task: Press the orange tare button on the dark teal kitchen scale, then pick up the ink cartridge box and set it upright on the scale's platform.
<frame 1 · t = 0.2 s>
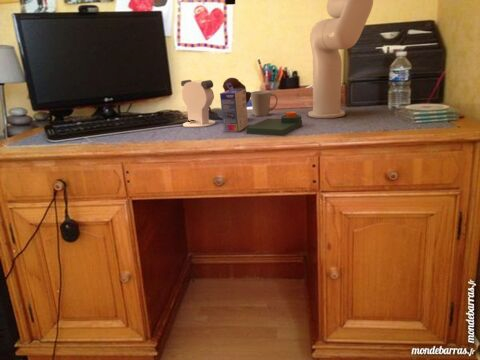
hand: (237, 2, 112), 37 cm above the table, tool pointing down, fingers open, 9 cm apart
ink cartridge box: (235, 129, 125), on the table
scale: (275, 129, 120), on the table
beige round-topped stand: (200, 124, 137), on the table
cup: (264, 115, 146), on the table
tare button: (291, 114, 121), point 4 cm above the table, slide at 0.1 cm
ice cream bowl: (237, 120, 139), on the table
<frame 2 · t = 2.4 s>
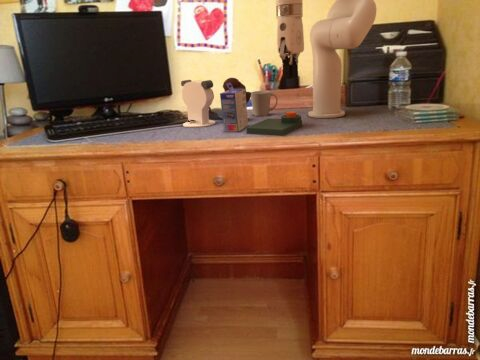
hand: (290, 77, 117), 15 cm above the table, tool pointing down, fingers closed
nothing on the table moved.
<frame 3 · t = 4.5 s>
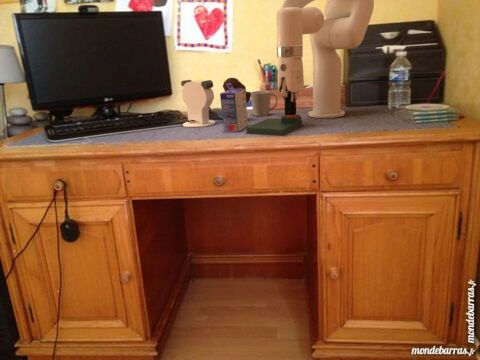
hand: (290, 114, 121), 4 cm above the table, tool pointing down, fingers closed
tare button: (291, 116, 121), point 3 cm above the table, slide at -0.5 cm, touching gripper
everything else where it was.
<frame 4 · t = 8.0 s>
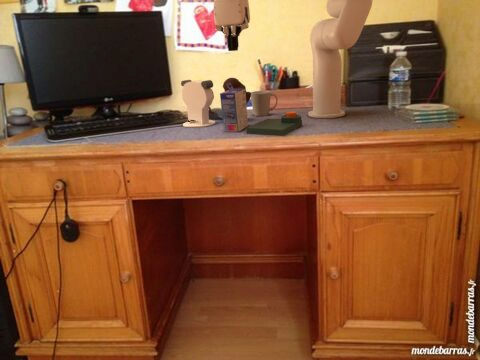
hand: (233, 50, 117), 24 cm above the table, tool pointing down, fingers closed
tare button: (291, 114, 121), point 4 cm above the table, slide at 0.1 cm
everything else where it was.
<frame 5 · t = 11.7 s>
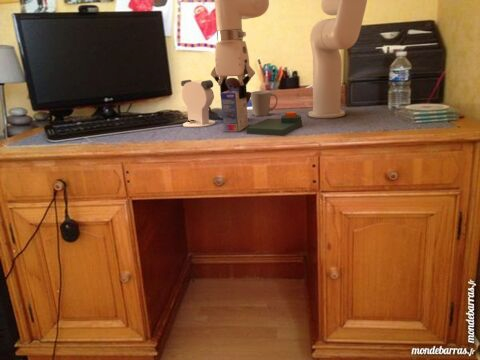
hand: (233, 97, 122), 10 cm above the table, tool pointing down, fingers closed on ink cartridge box, 5 cm apart
ink cartridge box: (235, 129, 125), on the table, touching gripper
everything else where it was.
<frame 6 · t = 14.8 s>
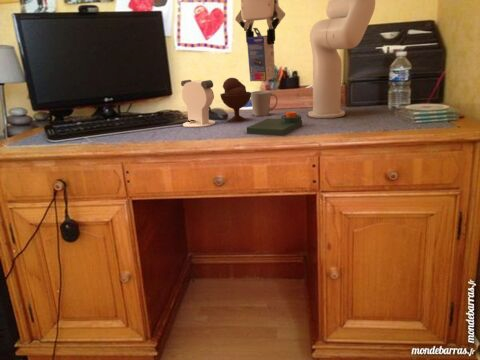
hand: (260, 44, 112), 25 cm above the table, tool pointing down, fingers closed on ink cartridge box, 5 cm apart
ink cartridge box: (262, 80, 115), point 15 cm above the table, touching gripper
everything else where it was.
when the fingers open (12 cm above the table, at t = 18.3 s): ink cartridge box stays where it is, resting on scale.
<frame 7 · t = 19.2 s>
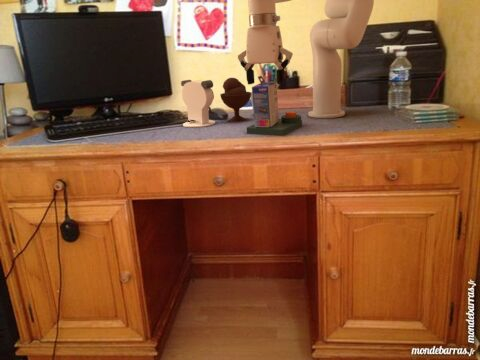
hand: (265, 83, 115), 14 cm above the table, tool pointing down, fingers open, 9 cm apart
ink cartridge box: (266, 125, 119), point 2 cm above the table, touching scale
everything else where it was.
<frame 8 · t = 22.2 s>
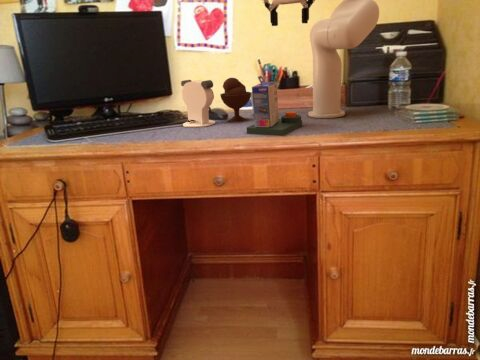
hand: (289, 24, 116), 30 cm above the table, tool pointing down, fingers open, 9 cm apart
nothing on the table moved.
at the end: ink cartridge box 0.1 cm from the target spot on the scale, point 1.7 cm above the scale's base; ink cartridge box tilted 0°; tare button pushed in 0.9 cm at the most during the clip and back out by the end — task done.
